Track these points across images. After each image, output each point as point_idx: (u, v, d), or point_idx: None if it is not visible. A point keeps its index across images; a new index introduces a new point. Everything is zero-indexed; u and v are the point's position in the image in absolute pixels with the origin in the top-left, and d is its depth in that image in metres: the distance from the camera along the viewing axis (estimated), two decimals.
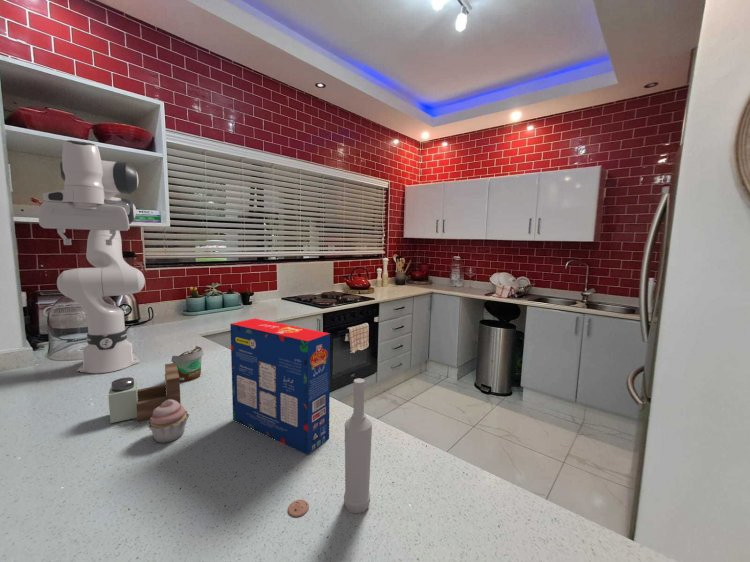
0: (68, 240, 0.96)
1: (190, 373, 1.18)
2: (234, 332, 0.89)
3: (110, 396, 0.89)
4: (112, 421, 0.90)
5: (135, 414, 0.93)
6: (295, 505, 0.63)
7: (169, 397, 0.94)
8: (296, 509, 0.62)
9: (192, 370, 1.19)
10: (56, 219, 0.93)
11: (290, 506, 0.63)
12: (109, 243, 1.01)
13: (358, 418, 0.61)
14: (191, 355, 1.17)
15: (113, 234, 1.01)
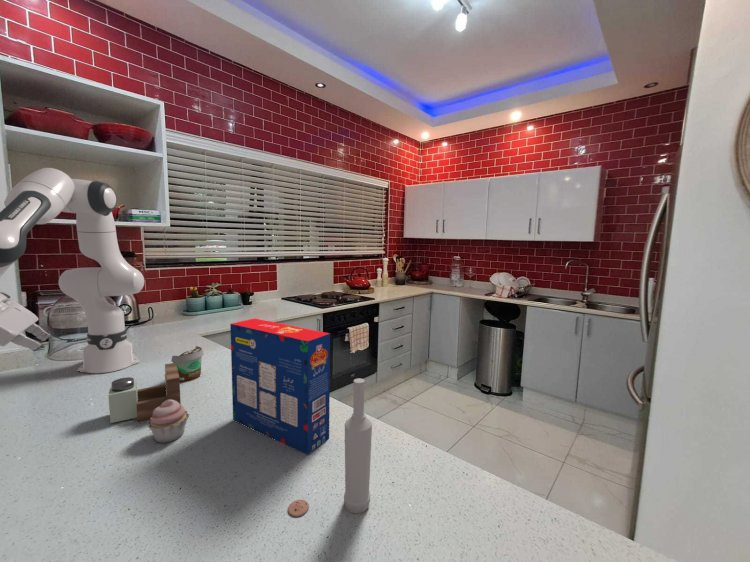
0: None
1: (190, 373, 1.18)
2: (234, 332, 0.89)
3: (110, 396, 0.89)
4: (112, 421, 0.90)
5: (135, 414, 0.93)
6: (295, 505, 0.63)
7: (169, 397, 0.94)
8: (296, 509, 0.62)
9: (192, 370, 1.19)
10: None
11: (290, 506, 0.63)
12: None
13: (358, 418, 0.61)
14: (191, 355, 1.17)
15: None
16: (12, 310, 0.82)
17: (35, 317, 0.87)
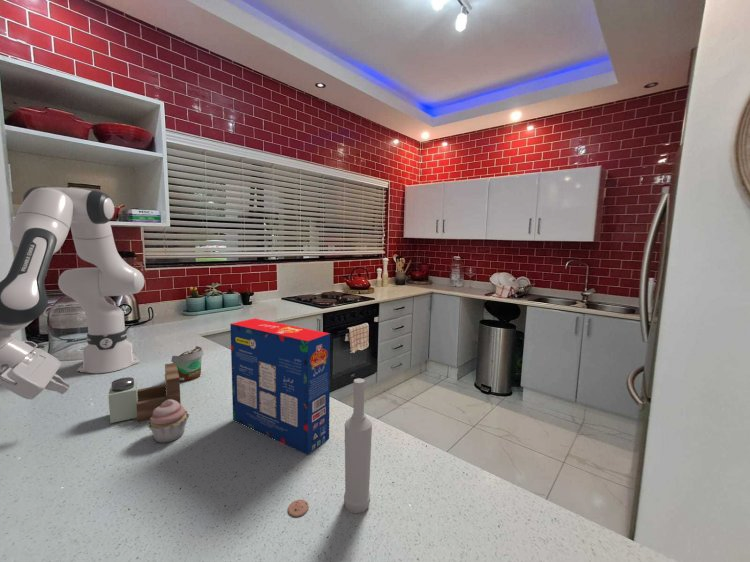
0: None
1: (190, 373, 1.18)
2: (234, 332, 0.89)
3: (110, 396, 0.89)
4: (112, 421, 0.90)
5: (135, 414, 0.93)
6: (295, 505, 0.63)
7: (169, 397, 0.94)
8: (296, 509, 0.62)
9: (192, 370, 1.19)
10: None
11: (290, 506, 0.63)
12: None
13: (358, 418, 0.61)
14: (191, 355, 1.17)
15: None
16: (38, 358, 0.86)
17: (58, 362, 0.91)
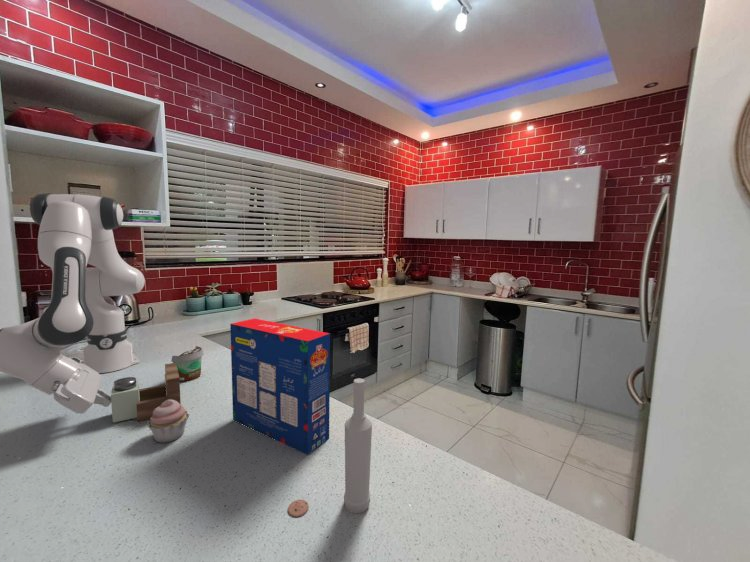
0: None
1: (190, 373, 1.18)
2: (234, 332, 0.89)
3: (112, 396, 0.89)
4: (114, 420, 0.90)
5: None
6: (295, 505, 0.63)
7: (169, 397, 0.94)
8: (296, 509, 0.62)
9: (192, 370, 1.19)
10: None
11: (290, 507, 0.63)
12: None
13: (358, 418, 0.61)
14: (191, 355, 1.17)
15: None
16: (82, 373, 0.91)
17: (100, 376, 0.96)
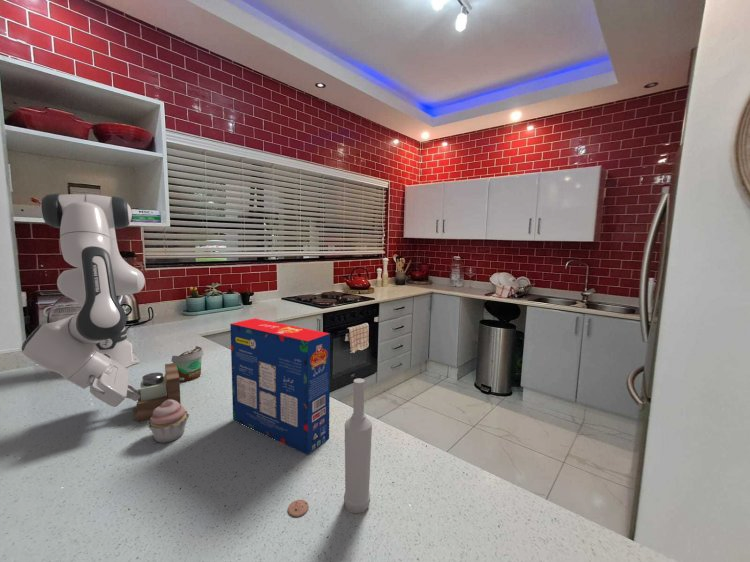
0: None
1: (190, 373, 1.18)
2: (234, 332, 0.89)
3: (142, 390, 0.93)
4: None
5: None
6: (295, 505, 0.63)
7: (169, 397, 0.94)
8: (296, 509, 0.62)
9: (192, 370, 1.19)
10: None
11: (290, 507, 0.63)
12: None
13: (358, 418, 0.61)
14: (191, 355, 1.17)
15: None
16: (112, 369, 0.95)
17: (128, 372, 1.00)
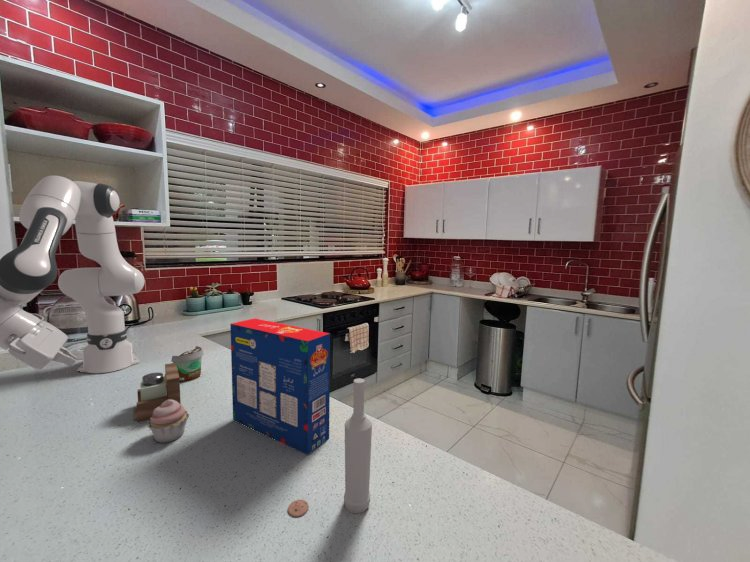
0: None
1: (190, 373, 1.18)
2: (234, 332, 0.89)
3: (142, 390, 0.93)
4: None
5: None
6: (295, 505, 0.63)
7: (169, 397, 0.94)
8: (297, 509, 0.62)
9: (192, 370, 1.19)
10: None
11: (290, 507, 0.63)
12: None
13: (358, 418, 0.61)
14: (191, 355, 1.17)
15: None
16: (44, 331, 0.86)
17: (65, 336, 0.91)
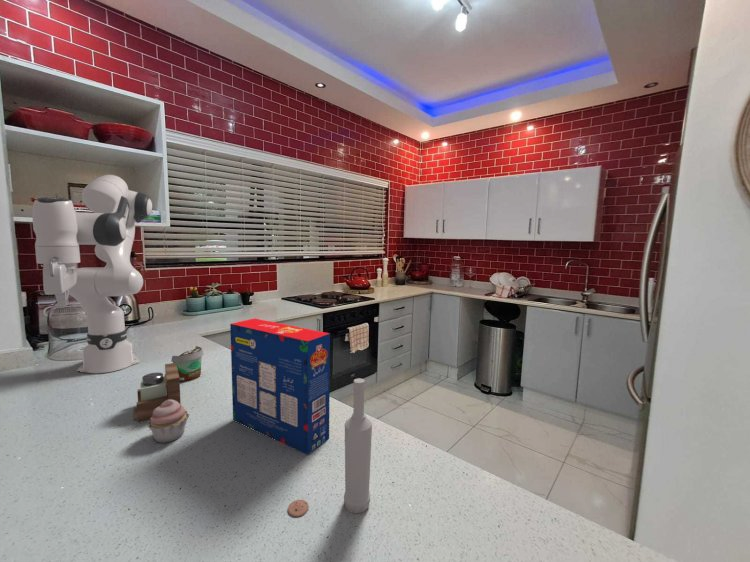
0: None
1: (190, 373, 1.18)
2: (234, 332, 0.89)
3: (142, 390, 0.93)
4: None
5: None
6: (295, 505, 0.63)
7: (169, 397, 0.94)
8: (297, 509, 0.62)
9: (192, 370, 1.19)
10: None
11: (290, 507, 0.63)
12: None
13: (358, 418, 0.61)
14: (191, 355, 1.17)
15: None
16: (70, 269, 0.97)
17: (75, 282, 1.00)
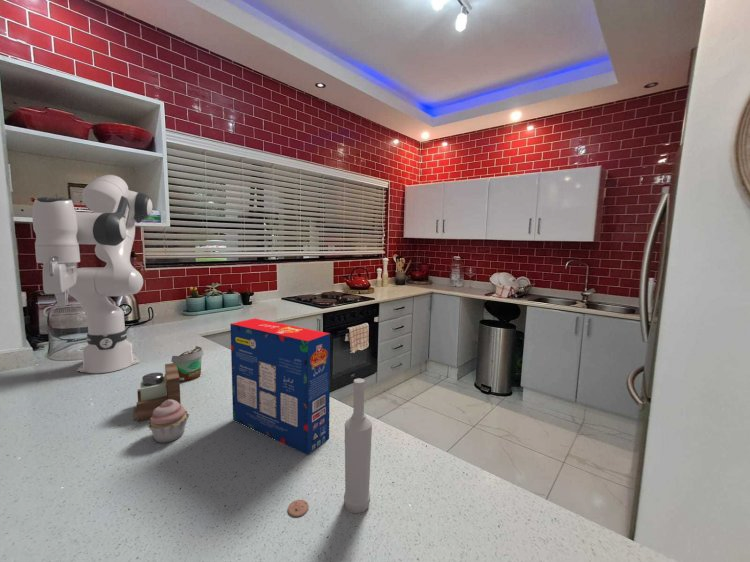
0: None
1: (190, 373, 1.18)
2: (234, 332, 0.89)
3: (142, 390, 0.93)
4: None
5: None
6: (295, 505, 0.63)
7: (169, 397, 0.94)
8: (297, 509, 0.62)
9: (192, 370, 1.19)
10: None
11: (290, 507, 0.63)
12: None
13: (358, 418, 0.61)
14: (191, 355, 1.17)
15: None
16: (70, 269, 0.97)
17: (75, 282, 1.00)
